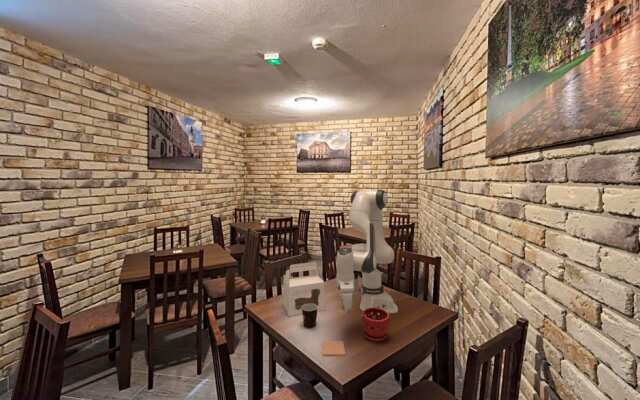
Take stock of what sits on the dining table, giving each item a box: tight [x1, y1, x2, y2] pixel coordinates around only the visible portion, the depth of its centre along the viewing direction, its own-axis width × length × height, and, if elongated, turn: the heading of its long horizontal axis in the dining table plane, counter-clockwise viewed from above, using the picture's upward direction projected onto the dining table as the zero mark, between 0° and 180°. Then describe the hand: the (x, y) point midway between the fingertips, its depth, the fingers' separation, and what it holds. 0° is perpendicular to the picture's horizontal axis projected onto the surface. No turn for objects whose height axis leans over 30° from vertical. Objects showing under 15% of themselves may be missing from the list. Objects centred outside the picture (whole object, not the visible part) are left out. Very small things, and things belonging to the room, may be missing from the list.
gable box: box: [282, 261, 325, 317], centre depth 170 cm, size 22×13×28 cm, turn 110°
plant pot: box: [361, 308, 390, 342], centre depth 140 cm, size 13×13×12 cm
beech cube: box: [339, 298, 352, 315], centre depth 142 cm, size 5×5×5 cm
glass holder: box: [353, 270, 360, 296], centre depth 195 cm, size 9×14×15 cm, turn 91°
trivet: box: [321, 340, 346, 357], centre depth 131 cm, size 10×10×1 cm
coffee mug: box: [301, 304, 318, 329], centre depth 150 cm, size 12×9×10 cm
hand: (345, 307), depth 142 cm, fingers closed on beech cube, 5 cm apart
